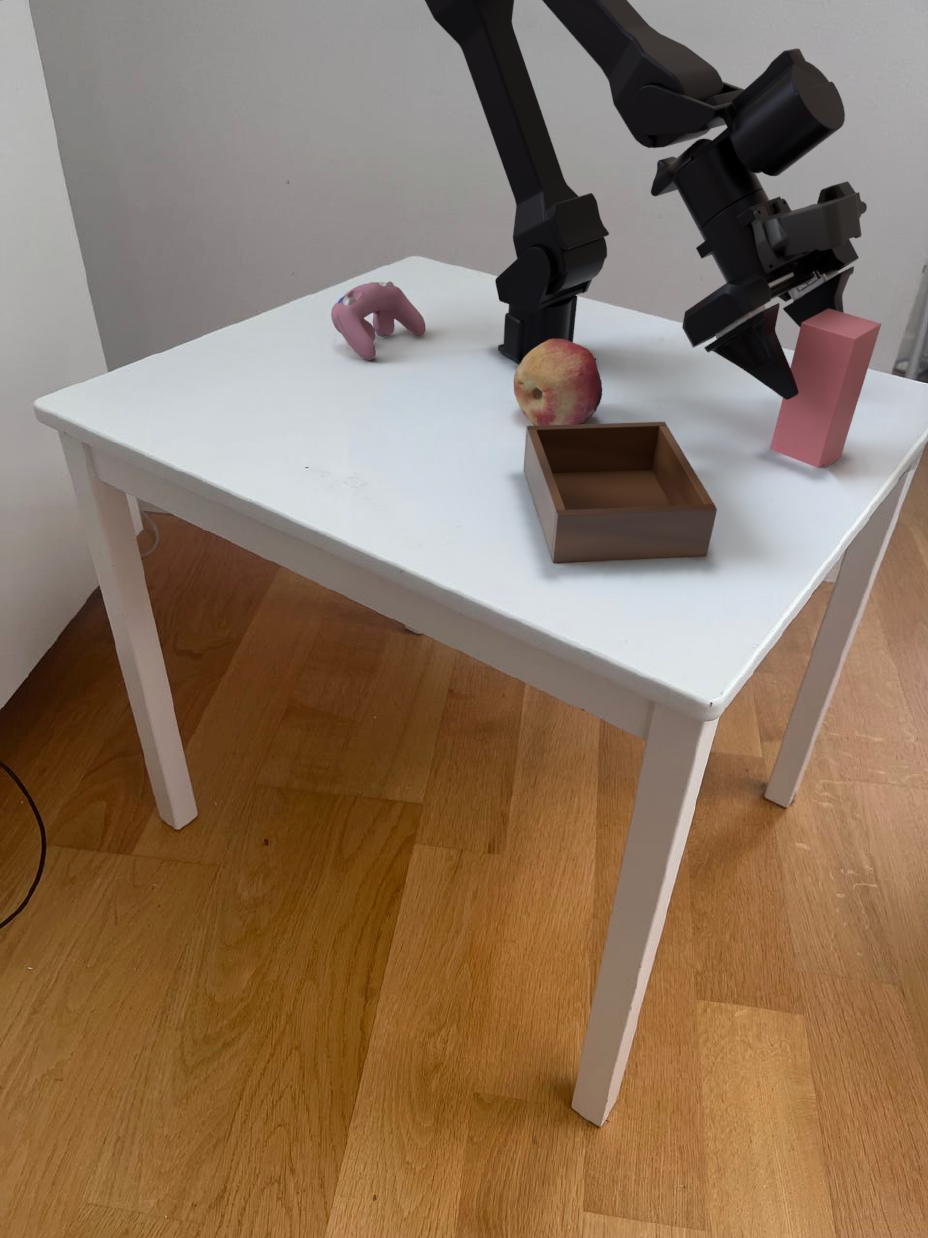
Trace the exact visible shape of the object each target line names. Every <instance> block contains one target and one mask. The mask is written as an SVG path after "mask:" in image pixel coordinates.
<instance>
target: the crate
mask: <svg viewBox="0 0 928 1238" xmlns="http://www.w3.org/2000/svg"><path fill="white" fill-rule="evenodd" d="M525 427H526V429H525V442H524V455H523V456H524V457H523V468H522V469H523V474H524V476H525V480H526V484H527V486H528V487H527V488H528V490H529V493H530V495H531V499H532V502H533V505H534V508H535V512H536V516H537V518H538V521H539V524H540V527H541V530H542V533H543V536H544V540H545V543H546V546H547V549H548V553H549V555H550V558H551V562H552V564H569V563H570V564H572V563H574V564H575V563H592V562H593V563H594V562H615V561H636V560H659V559H661V560H662V559H679V558H680V559H683V558H701V557H702V558H703V557H707V556H708V553H709V547H710V544H711V540H712V539H711V538H712V534H713V530H714V525H715V520H716V516H717V511H718V508H717V506H716V505H715V503H714V501H713V499H712V498H711V496H710V494H709V493H708V491H707V489H706V488H705V486H704V484H703V483H702V481H701V479H700V478H699V476H698V474H697V473H696V471H695V470H694V468H693V466H692V465H691V463H690V461H689V459H688V458H687V456H686V454H685V453H684V452H683V450H682V448H681V446H680V445H679V443H678V441H677V440H676V438H675V436H674V435H673V433H672V432H671V430H670V427H668V424H667V423H666V422H665V421H644V422H642V421H641V422H613V423H608V422H607V423H580V424H574V425H541V426H535V425H526V426H525Z"/></svg>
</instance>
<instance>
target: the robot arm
mask: <svg viewBox="0 0 928 1238" xmlns="http://www.w3.org/2000/svg"><path fill="white" fill-rule="evenodd" d="M541 1H542V2H543V3H544V4H545V6H546V7H547V8H549V11H551V12H552V14H553V15H554V16H555V17H556V18H557V19H558V21H559V22H560V23H561V24H562V25H563V26H564V28H565V29H566V30H567V31H568V33H570V35H572V37H573V38H574V39H575V41H577V43H578V44H579V45H580V46H581V48H583V50H584V51H585V52H586V53H587V54H588V55H589V57H590V58H592V60H593V62H595V63H596V65H597V66H598V67H599V68H600V69H601V71H602V73H603V74H604V76H605V77H606V79H607V81H608V82H609V88H610V93H611V98H612V105H613V106H614V107H615V110H616V111H617V112H618V114H619V116H620V117H621V119H622V121H623V122H624V124H625V126H626V127H627V129H628V131H629V132H630V134H631V135H632V137H633V138H634V140H635V141H636V142H637V143H638V144H640V145H642V146H643V147H644V148H645V147H646V148H648V149H659V148H661V149H662V148H666V147H669V146H674V145H678V144H680V143H684V142H688V141H691V140H695V139H697V140H696V141H694V142H693V143H692V144H691V145H690V146H689V147H688V148H686V149H685V150H684V151H683V152H682V153H680V155H678V156H677V157H675V156H669V157H665V158H661V159H659V160H657V162H656V172H655V176H654V179H653V181H652V185H651V188H650V194H651V196H653V197H659V196H662V195H666V194H668V193H671V192H675V191H678V194H679V195H680V198H681V200H682V201H683V203H684V206H686V208H687V210H688V212H689V214H690V216H691V219H692V220H693V222H694V224H695V226H696V228H697V229H698V231H699V233H700V235H701V237H702V239H703V242H701V244H699V245H698V246H697V247H695V249H696V251H697V253H698V255H699V257H700V259H705V258H707V257H710V256H711V257H712V258H713V260H714V261H715V264H716V265H717V267H718V269H719V271H720V274H721V275H722V277H723V279H724V281H725V282H726V283H725V284H723V285H721V286H720V287H718V288H717V289H715V290H714V291H712V293H710V294H708V295H707V296H705V297H704V298H703V299H701V300H700V301H698V302H697V303H695V304H694V305H693V306H691V307H690V308H688V309H687V310H685V311H684V315H683V321H682V326H681V328H682V330H683V332H684V334H685V336H686V337H687V340H688V341H689V343H690V345H691V347H692V349H693V348H696V347H698V346H700V345H702V344H704V343H706V342H709V341H711V339H713V338H716V339H715V340H714V341H713V342H710V343H709V344H707V345H705V346H704V350H705V351H706V353H711V352H713V353H715V354H717V355H718V356H720V357H722V358H723V359H724V360H727V361H728V362H730V363H732V364H733V365H735V366H737V367H738V368H740V369H741V370H742V371H744V372H746V373H747V374H749V375H750V376H751V377H753V378H754V379H756V380H758V382H760V383H761V384H763V385H764V386H766V387H767V388H769V389H770V390H771V391H773V392H774V393H776V394H777V395H779V396H780V397H781V398H782V399H783V398H784V399H786V400H789V399H791V398H793V397H795V396H796V395H798V393H799V391H798V388H797V385H796V382H795V379H794V376H793V373H792V371H791V369H790V367H791V365H790V363H789V361H788V359H787V356H786V354H785V351H784V349H783V347H782V345H781V342H780V339H779V337H778V334H777V332H776V326H777V321H778V316H779V311H780V302H777V303H775V304H773V305H772V306H770V307H767V308H766V306H765V305H766V304H768V303H770V302H771V301H772V300H773V299H776V298H779V299H781V300H782V301H784V302H785V303H787V302H789V301H790V300H792V302H790V303H789V304H787V305H786V306H784V307H783V308H782V310H783V311H784V312H785V313H786V315H788V316H789V317H790V319H791V320H792V321H793V322H794V324H796V325H797V326H798V327H799V329H800V328H801V324H802V322H804V321H806V320H808V319H809V318H811V317H813V316H815V315H817V314H819V313H821V312H823V311H824V310H826V309H832V310H836V311H839V312H843V313H845V311H844V302H843V301H844V300H843V295H844V293H845V292H844V291H845V289H846V286H847V284H848V281H849V279H850V277H851V276H852V275H854V272H855V266H854V265H852V266H850V267H849V268H846V267H848V266H849V265H851V264H852V263H854V262H855V261H857V260H858V259H859V258H860V257H859V255H858V253H857V251H856V250H855V247H854V245H853V244H852V241H851V240H850V239H853V238H854V239H858V238H861V237H862V227H861V221H860V219H861V217H862V215H863V214H865V213H866V212H867V209H868V205H867V203H866V202H865V201H862V199H861V194H860V193H861V192H859V191H858V192H856V191H855V189H854V188H853V186H852V185H851V183H850V182H849V181H843V182H840V183H836V184H833V185H830V186H827V187H824V188H822V189H820V191H819V194H818V199H817V202H816V203H813V204H809V205H807V206H805V207H804V206H803V207H799V208H797V209H793V210H792V209H791V207H790V205H789V203H788V202H787V200H786V199H785V198H781V196H777V197H774V198H771V199H770V198H769V196H768V194H767V192H766V191H765V189H764V187H763V186H762V183H761V181H760V179H759V178H758V176H757V174H761V173H763V174H764V175H765V176H769V177H778V176H780V175H781V174H782V173H784V172H785V171H786V170H788V169H789V168H790V167H792V166H793V165H795V164H796V163H797V162H798V161H800V160H801V159H802V158H804V157H805V156H806V155H807V154H808V153H810V152H811V151H813V150H814V149H815V148H817V147H818V146H819V145H820V144H821V143H824V141H826V140H827V139H828V138H830V137H831V136H833V134H835V133H837V132H838V131H839V130H840V129H841V128H842V127H843V126H844V123H845V120H846V113H845V107H844V102H843V99H842V97H841V94H840V93H839V90H838V88H837V87H836V84H835V83H834V82H833V81H829V79H828V78H827V76H826V75H825V74H824V73H823V72H822V71H821V70H820V69H819V68H818V67H817V66H816V65H814V64H813V63H811V62H809V61H806V59H805V56H804V55H803V52H802V51H801V49H800V48H791V49H787V50H783V51H782V52H781V53H780V54H778V56H776V57H775V58H773V60H772V61H771V62H770V63H769V65H768V66H767V67H766V69H765V70H764V71H763V73H761V74H760V75H759V76H758V77H757V78H756V79H754V81H752V82H751V83H750V84H749V85H748V86H747V87H746V88H742V87H739V86H737V85H734V84H731V83H729V82H725V81H723V79H722V77H721V75H720V73H719V71H718V70H717V68H715V67H714V66H713V65H712V64H711V63H709V62H708V61H707V60H705V59H704V58H703V57H701V56H700V55H699V54H697V53H696V52H694V51H693V50H692V49H690V47H688V46H686V45H684V44H682V43H681V42H678V41H676V40H674V39H672V38H670V37H668V36H666V35H664V34H662V33H660V32H659V31H657V30H656V29H655V28H653V27H652V26H650V24H649V23H648V22H647V21H646V20H645V19H644V18H643V17H642V16H641V14H640V13H639V12H638V11H637V10H636V9H635V7H634V6H633V5H632V4H631V3H630V2H629V1H628V0H541ZM424 2H425V4H426V6H427V8H428V10H429V12H430V14H431V16H432V18H433V19H434V21H435V22H436V23H437V24H438V25H439V26H440V27H441V28H442V29H443V30H444V31H445V32H446V34H448V35H449V36H450V37H451V38H452V39H453V40H454V41H455V42H456V44H457V45H458V46H459V47H460V49H461V51H462V54H463V57H464V60H465V62H466V65H467V68H468V71H469V73H470V76H471V79H472V83H473V85H474V89H475V92H476V94H477V96H478V99H479V102H480V104H481V107H482V110H483V114H484V116H485V119H486V121H487V122H486V123H487V124H488V125H487V126H488V128H489V131H490V133H491V135H492V138H493V141H494V144H495V145H494V146H495V147H496V150H497V153H498V156H499V159H500V161H501V165H502V167H503V169H504V173H505V176H506V177H507V181H508V184H509V187H510V189H511V192H512V195H513V198H514V201H515V215H514V225H513V231H512V242H513V246H514V251H515V256H516V258H515V260H514V261H513V262H512V263H511V264H510V265H509V266H507V267H506V269H505V270H504V271H502V272H501V273H500V274H499V275H498V276H497V277H496V278H495V280H494V281H495V282H494V283H495V288H496V292H497V297H498V300H499V302H500V303H504V304H507V305H508V311H507V312H506V313H505V314H504V329H503V343H501V344H498V345H497V352H499V353H501V354H503V355H504V356H505V357H507V358H508V359H510V360H512V361H513V362H515V363H517V365H518V366H519V365H520V363H521V362H522V360H523V359H524V357H525V356H526V355H527V354H528V353H529V352H530V351H531V350H532V349H534V348H535V347H537V346H539V345H540V344H541V343H543V342H545V341H547V340H549V339H566V340H568V341H571V342H573V343H574V336H575V326H576V316H577V306H578V295H580V294H585V293H587V292H588V290H589V288H590V286H591V284H592V281H593V279H594V278H595V277H597V276H598V275H599V274H600V272H601V271H602V269H603V267H604V264H605V260H606V259H607V258H608V247H607V241H606V239H605V237H608V236H609V235H610V232H609V231H608V229H607V228H606V227H605V225H604V223H603V221H602V218H601V215H600V210H599V205H598V201H597V198H596V197H595V195H594V193H592V192H590V193H586V194H583V195H580V196H579V195H578V194H577V193H576V192H575V191H574V190H573V189H572V188H571V187H570V186H569V185H568V183H567V181H566V179H565V177H564V174H563V171H562V168H561V164H560V163H559V160H558V157H557V153H556V151H555V147H554V144H553V142H552V139H551V136H550V133H549V130H548V127H547V124H546V121H545V117H544V115H543V113H542V109H541V106H540V104H539V101H538V97H537V94H536V92H535V89H534V86H533V83H532V80H531V77H530V73H529V71H528V68H527V65H526V62H525V59H524V56H523V52H522V50H521V47H520V44H519V41H518V38H517V35H516V32H515V30H514V27H513V15H514V7H515V0H424ZM723 126H726V128H725V129H724V130H722V131H721V132H720V133H719V134H718V135H717V136H715V137H714V138H713V139H710V138H701V137H702V136H704V135H707V134H708V133H709V132H710V131H711V130H712V129H715V128H719V127H723ZM845 268H846V269H845ZM843 269H844V270H843ZM841 270H842V271H841ZM840 271H841V272H840Z"/></svg>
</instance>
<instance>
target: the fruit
mask: <svg viewBox="0 0 928 1238" xmlns="http://www.w3.org/2000/svg"><path fill="white" fill-rule="evenodd" d="M513 392H514V396H515V400H516V402H517V405H518V407H519V409H520V410H521V412H522V414H523V415H524V416H525V417H526V418H527V420H528V421H529V422H530V423H531V424H532V425H533V426H541V425H574V424H583V422H585V421H586V420H587V419H588V418H590V417H592V416H593V415H594V413H597V409H598V408H599V405H600V404H601V402H602V401H601V400H602V397H603V382H602V378H601V374H600V371H599V369H598V364H597V358H596V357H595V356H594V354H593V353H592V351H590V350H589V349H588V348H587V347H585V346H582V345H580V344H578V343H575V342H574V341H573V342H571V341H568V340H566V339H549V340H547V341H545V342H543V343H541V344H540V345H539V346H537V347H535V348H534V349H532V350H531V351H530V352H529V353H528V354H527V355H526V356H525V357H524V359H523V360H522V362H521V363H520V365H519V364H518V366H517V368H516V370H515V372H514V375H513Z"/></svg>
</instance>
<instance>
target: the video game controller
mask: <svg viewBox="0 0 928 1238" xmlns="http://www.w3.org/2000/svg"><path fill="white" fill-rule="evenodd" d="M371 314H372V315H373V316H372V324H371V322H370V321H368V320H367V319H365V318H366V317H368V316H370V315H371ZM330 317H331V321H332V324H333V326H334V328H335V330H336V331H338V333H340V334H341V336H342V337H343V339H344V340H345V341H346V343H347V344H348V345H349V347H350V348H351V349H352V350H353V352H355V353H356V354H357V355H358V356H360V357H361V358H363V359H364V360H366V361H372V360H374V359H375V357H376V355H377V354H376V350H377V349H376V346H375V343H374V342H375V340H376V336H378V337H380V338H386V337H388V336H391V335H392V334H393V333H394V332H395V320H396V321H397V322H398V323H399V324H401V325H402V326H403V327H404V328H405V329H406V330H407V331H409V332H410V333H412V334H414V335H417V336H423V335H424V334H425V333H426V329H427V328H426V322H425V319H424V317H423V315H422V314H421V312H420V311H419V310H418V309H417V308H416V306H415V305H414V304H413V303H412V302H411V301H410V300H409V298H408V297H407V296H406V294H405V293H404V292H403V290H402V289H401V288H400V287H398V286H396V285H395V284H394V282H393V281H387V282H386V281H379V282H377V281H376V282H375V281H371V282H368V283H362V284H360V285H358V286H356V287H353V288H352V289H350V290H349V291H347V292H346V293H344V295H343V296H342V297H340V298H339V299H338V301H337V302H335V303H334V305H333V306H332V307H331V311H330Z"/></svg>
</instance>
